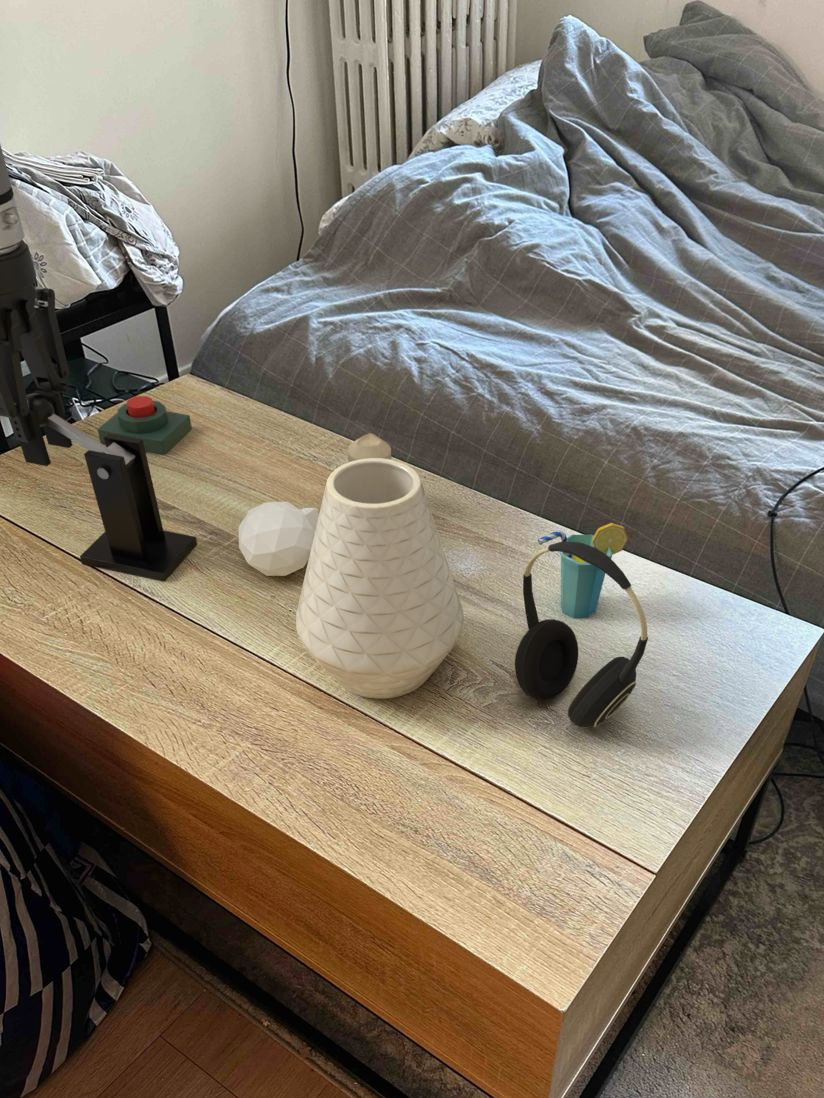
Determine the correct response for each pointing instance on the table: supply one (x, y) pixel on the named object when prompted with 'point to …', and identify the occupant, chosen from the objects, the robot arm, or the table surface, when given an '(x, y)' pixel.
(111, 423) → the button box
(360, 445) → the candle
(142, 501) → the bracket
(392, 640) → the vase
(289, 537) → the white faceted round piece
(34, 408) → the lever
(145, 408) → the button
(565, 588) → the cup
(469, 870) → the table surface
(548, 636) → the headphones
